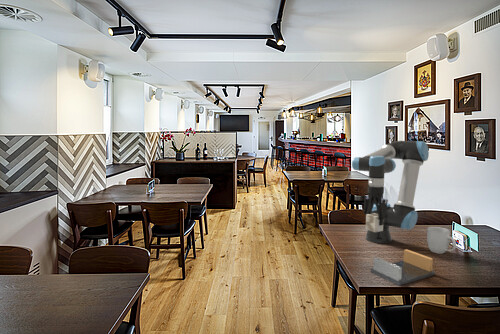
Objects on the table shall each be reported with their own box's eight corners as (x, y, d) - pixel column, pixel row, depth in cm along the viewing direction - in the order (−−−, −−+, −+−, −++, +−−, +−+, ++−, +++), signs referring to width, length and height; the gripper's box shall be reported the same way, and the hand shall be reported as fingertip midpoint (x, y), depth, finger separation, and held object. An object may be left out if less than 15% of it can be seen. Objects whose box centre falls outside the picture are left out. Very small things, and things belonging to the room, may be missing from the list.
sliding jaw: (403, 261, 164) (404, 249, 164) (406, 260, 165) (406, 249, 165) (429, 271, 152) (430, 259, 151) (432, 270, 153) (432, 258, 152)
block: (365, 229, 169) (366, 214, 168) (373, 227, 172) (374, 213, 171) (374, 232, 164) (375, 217, 163) (382, 230, 167) (383, 215, 166)
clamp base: (370, 272, 155) (371, 257, 154) (404, 262, 167) (405, 248, 166) (399, 285, 141) (400, 269, 140) (434, 274, 153) (435, 259, 152)
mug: (459, 254, 178) (461, 232, 176) (449, 259, 172) (451, 235, 170) (432, 247, 190) (433, 225, 189) (422, 250, 184) (423, 228, 183)
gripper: (356, 183, 172) (355, 225, 175) (386, 189, 155) (384, 235, 158) (366, 182, 176) (365, 223, 178) (396, 188, 159) (394, 233, 161)
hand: (374, 229), depth 168 cm, fingers closed on block, 6 cm apart
